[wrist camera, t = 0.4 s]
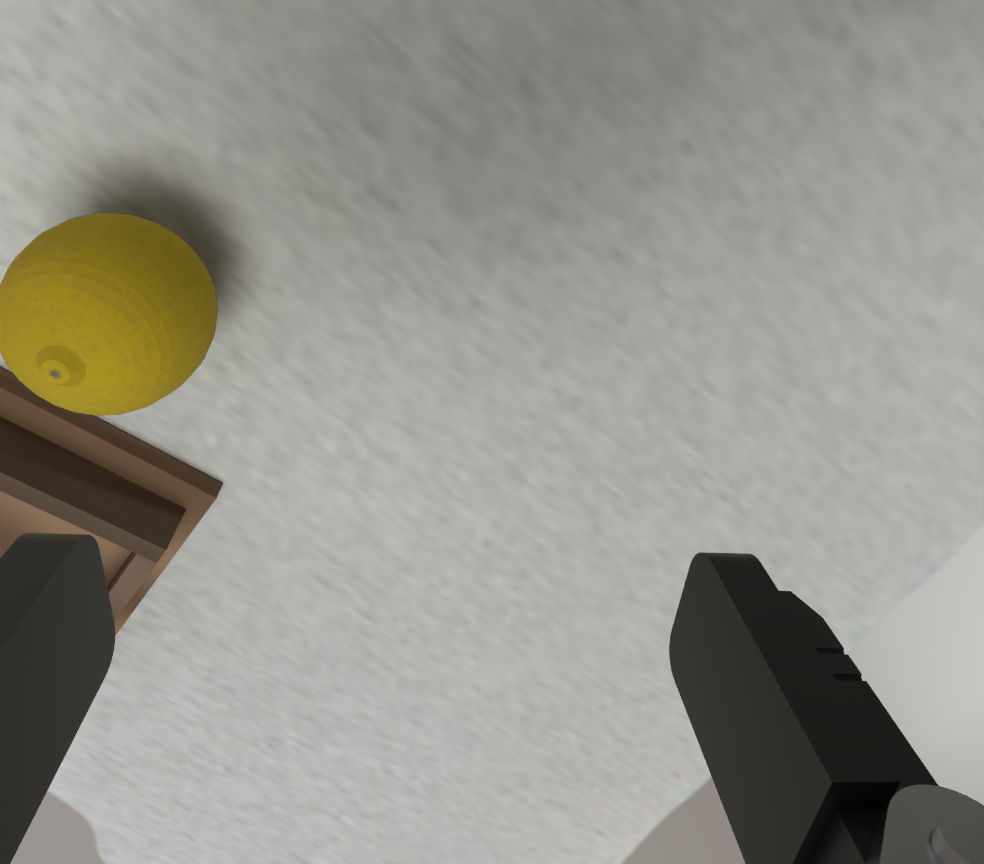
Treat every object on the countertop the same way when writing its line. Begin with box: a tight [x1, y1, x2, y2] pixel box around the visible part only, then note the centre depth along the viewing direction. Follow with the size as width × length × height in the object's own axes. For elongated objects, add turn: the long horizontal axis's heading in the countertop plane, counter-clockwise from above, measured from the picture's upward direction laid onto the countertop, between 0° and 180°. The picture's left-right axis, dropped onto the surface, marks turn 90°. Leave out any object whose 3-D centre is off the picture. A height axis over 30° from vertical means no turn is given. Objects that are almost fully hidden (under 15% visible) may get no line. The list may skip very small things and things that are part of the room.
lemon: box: [0, 213, 218, 415], centre depth 21 cm, size 6×6×8 cm
